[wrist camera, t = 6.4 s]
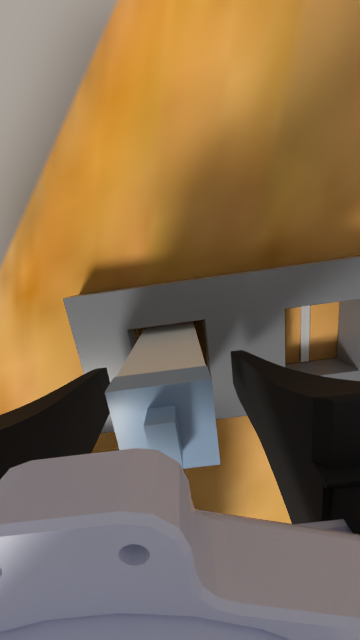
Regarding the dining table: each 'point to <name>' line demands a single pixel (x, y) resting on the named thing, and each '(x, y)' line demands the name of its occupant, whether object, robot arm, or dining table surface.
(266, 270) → the socket strip
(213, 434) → the plug
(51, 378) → the dining table surface
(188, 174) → the dining table surface
